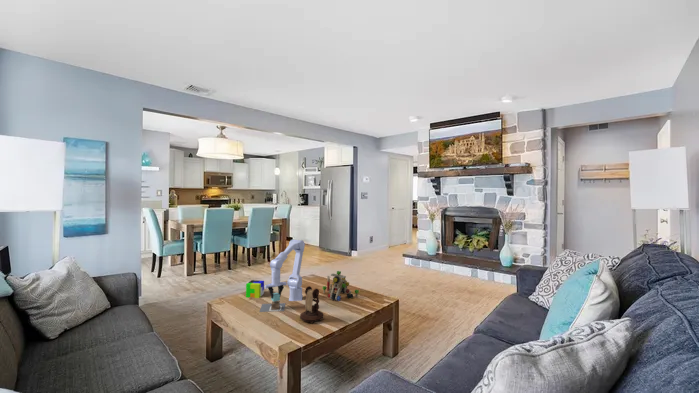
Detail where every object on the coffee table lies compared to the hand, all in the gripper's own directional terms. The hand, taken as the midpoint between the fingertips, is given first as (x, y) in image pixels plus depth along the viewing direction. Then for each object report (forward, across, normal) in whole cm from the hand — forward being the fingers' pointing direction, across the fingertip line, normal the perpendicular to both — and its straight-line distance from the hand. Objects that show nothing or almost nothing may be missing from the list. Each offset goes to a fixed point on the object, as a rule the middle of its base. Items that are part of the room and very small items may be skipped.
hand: (275, 297), depth 206 cm
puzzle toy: (+8, +4, -34) cm, 35 cm away
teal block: (+2, 0, 0) cm, 2 cm away
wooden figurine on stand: (+8, -14, +26) cm, 31 cm away
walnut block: (+8, 0, 0) cm, 8 cm away
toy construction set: (+9, -50, -2) cm, 51 cm away
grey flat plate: (+8, +1, -3) cm, 9 cm away
